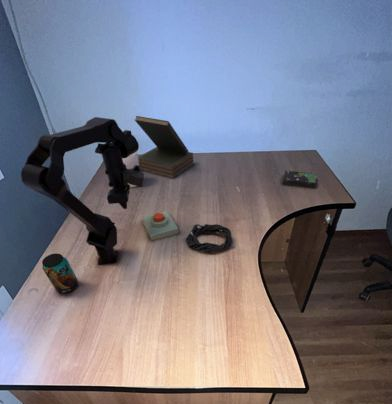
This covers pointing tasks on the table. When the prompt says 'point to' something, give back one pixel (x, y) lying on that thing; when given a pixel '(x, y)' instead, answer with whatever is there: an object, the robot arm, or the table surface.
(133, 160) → the white vase
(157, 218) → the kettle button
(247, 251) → the table surface
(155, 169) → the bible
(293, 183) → the disk drive
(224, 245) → the cable
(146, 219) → the green stepped base
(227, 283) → the table surface
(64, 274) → the beverage can
